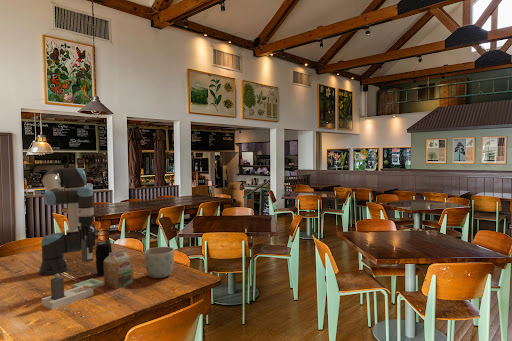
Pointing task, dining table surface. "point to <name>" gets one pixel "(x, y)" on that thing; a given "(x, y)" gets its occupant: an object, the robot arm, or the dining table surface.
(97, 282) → the tray
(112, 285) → the milk carton
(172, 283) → the dining table surface
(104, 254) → the portable speaker
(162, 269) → the planter
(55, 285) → the twin plug
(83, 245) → the plug
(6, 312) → the dining table surface
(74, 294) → the beige flat rimmed piece
